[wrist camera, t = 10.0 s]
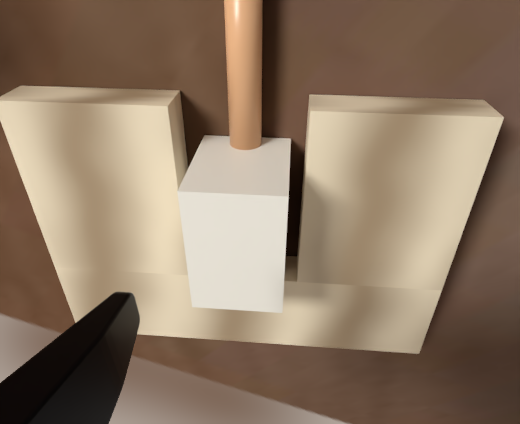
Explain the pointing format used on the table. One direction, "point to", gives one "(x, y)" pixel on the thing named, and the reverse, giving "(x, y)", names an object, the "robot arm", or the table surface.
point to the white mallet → (238, 188)
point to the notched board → (311, 217)
